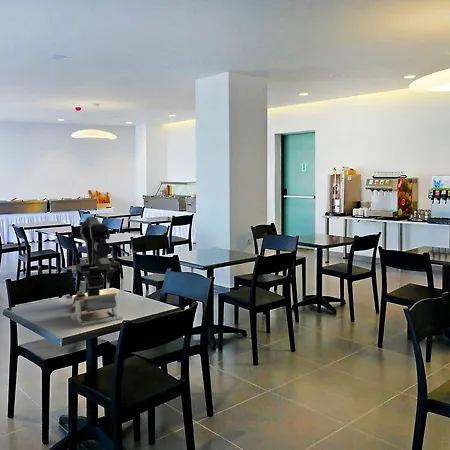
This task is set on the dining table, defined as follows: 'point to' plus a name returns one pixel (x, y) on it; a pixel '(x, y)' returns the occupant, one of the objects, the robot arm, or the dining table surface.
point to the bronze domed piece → (78, 297)
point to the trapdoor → (98, 302)
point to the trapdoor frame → (78, 319)
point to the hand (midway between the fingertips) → (98, 284)
